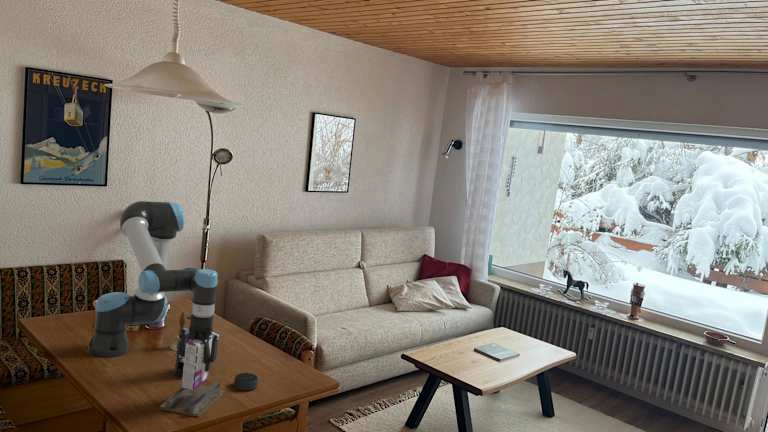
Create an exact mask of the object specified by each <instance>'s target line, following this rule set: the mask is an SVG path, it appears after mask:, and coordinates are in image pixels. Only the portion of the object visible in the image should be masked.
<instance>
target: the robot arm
mask: <svg viewBox="0 0 768 432" xmlns="http://www.w3.org/2000/svg"><path fill="white" fill-rule="evenodd" d="M183 210H184V209H183V207H182V206H181V204H179V203H177V202H170V201H147V200H141V201H140V200H139V201H135V202H133V203H131V204H129V205H128V206H127V207H126V208H124V210H123V211H122V213H121V215H120V219H119V226H120V229H121V230H120V231H121V233H122V234H123V236H125V237H127V239H128V242H129V244H130V246H131V249H132V252H133V254H134V257H135V259H136V261H137V263H138V267H139V269H140V271H141V272H140V273H139V275H138V287H137V288H136V289H135V290H134V293H133V295H130V294H128V293H127V292H124V291H121V292H120V291H116V292H115V291H114V292H109V293H105V294H101V296H99V297H98V299H97V300H96V302H97V303H96V305H95V306H96V307H95V317H94V318H95V320H94V331H93V334H92V336H91V338H90V340H89V343H88V345H87V346H88V347H87V352H88V353H89V354H90V355H93V356H95V357H100V358H101V357H103V358H104V357H105V358H110V357H118V356H123V355H125V354H127V353H128V352H129V350H130V349H129V348H130V343H129V339H128V336H127V332H126V331H127V326H128V325H141V324H153V323H157V322H158V323H159V322H161V321H162V320H163V319H164V318H165V316H166V314H167V312H168V298H167V296H166V295H165V293H169V292H188V291H189V292H191V293H192V301H191V302H192V304H191V312H190V313H191V315H190V316H191V320H190V319H189V321H190V322H189V324H190V325H189V327H184V329H182V330H181V334H182V340H181V348H180V357H184V356H185V346H186V342H188V334H189V332H190V334H191V336H192V337H191V339H190V340H195V339H197V340H201V341H203V342H204V359H205V362H203V365H202V374H201V381H204V380H205V379H206V375H207V372H208V371H209V369H210V370H211V363H214V362H215V361H216V360H217V356H218V345H219V344H218V343H219V339H220V337H221V334H220V333H215V332H214V329H213V324H214V318H215V317H214V313H215V308H216V307H215V306H216V298H217V290H218V289H217V288H218V283H219V281H218V272H217V271H215V270H212V269H207V268H206V269H205V268H202V269H198V268H196V267H192V266H186V267H184V268H182V269H166V268H167V263H168V258H169V253H170V247H171V242H172V241H173V240H174V239H175V238H176V237H177V233H180V232H182V231H183V230H184V227H185V216H184V215H185V214H184V211H183ZM210 336H212V339H213V340H212V345H211V355H210V348H209V337H210ZM207 339H208V340H207ZM205 340H207V341H206V342H205ZM209 372H210V371H209Z"/></svg>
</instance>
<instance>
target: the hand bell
mask: <svg viewBox="0 0 768 432" xmlns="http://www.w3.org/2000/svg"><path fill="white" fill-rule="evenodd" d="M186 317H187V316H186V312H185V311H181V314H180V316H179V330H181V329H184V328H185V324H186V321H187V318H186ZM178 340H181V339H180V338H179V334H177V335H175V337H174V341H173V343H172V344H171V345H170V346H169V349H170V350H171V351H174V352H177V343H178Z"/></svg>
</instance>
